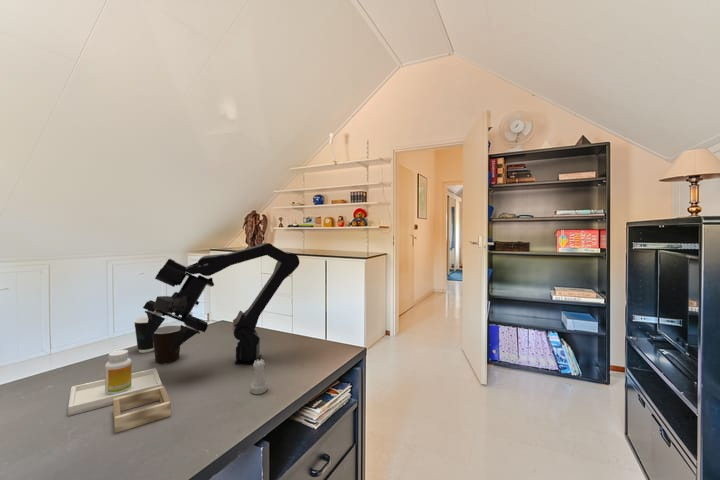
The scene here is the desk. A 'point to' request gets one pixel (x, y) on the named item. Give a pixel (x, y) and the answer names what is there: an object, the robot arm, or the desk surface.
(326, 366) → the desk surface
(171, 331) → the brown paper tapered cylinder
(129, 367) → the supplement bottle
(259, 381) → the rook chess piece
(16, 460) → the desk surface
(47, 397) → the desk surface
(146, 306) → the robot arm
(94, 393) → the tray
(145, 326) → the dixie cup
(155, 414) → the holder sleeve
